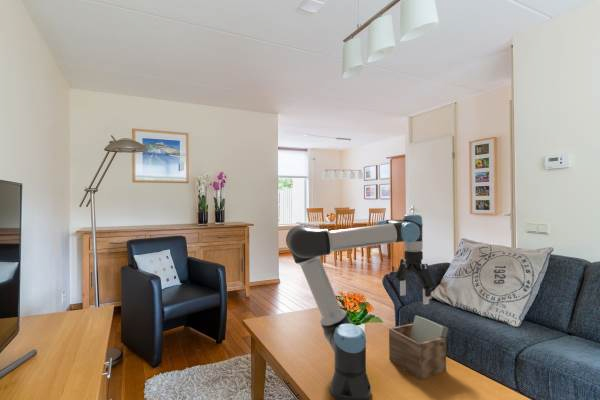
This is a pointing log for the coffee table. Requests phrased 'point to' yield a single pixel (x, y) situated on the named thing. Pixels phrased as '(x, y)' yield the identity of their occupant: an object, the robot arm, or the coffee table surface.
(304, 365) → the coffee table surface
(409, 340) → the brown wooden box
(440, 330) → the trapdoor
